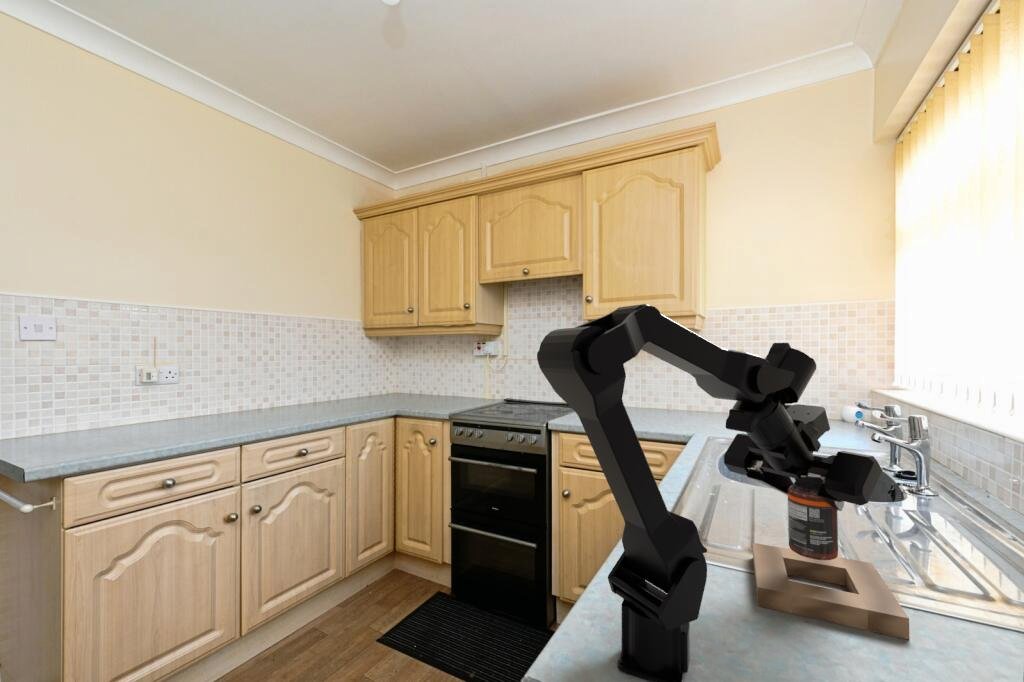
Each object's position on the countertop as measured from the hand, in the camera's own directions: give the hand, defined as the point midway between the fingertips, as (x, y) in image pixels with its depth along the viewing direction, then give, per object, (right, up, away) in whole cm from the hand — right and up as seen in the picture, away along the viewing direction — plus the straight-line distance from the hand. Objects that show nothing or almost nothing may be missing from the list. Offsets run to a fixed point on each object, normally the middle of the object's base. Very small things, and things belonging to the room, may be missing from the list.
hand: (817, 501), depth 65 cm
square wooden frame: (0, -13, 0) cm, 13 cm away
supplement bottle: (-1, -7, -1) cm, 7 cm away
